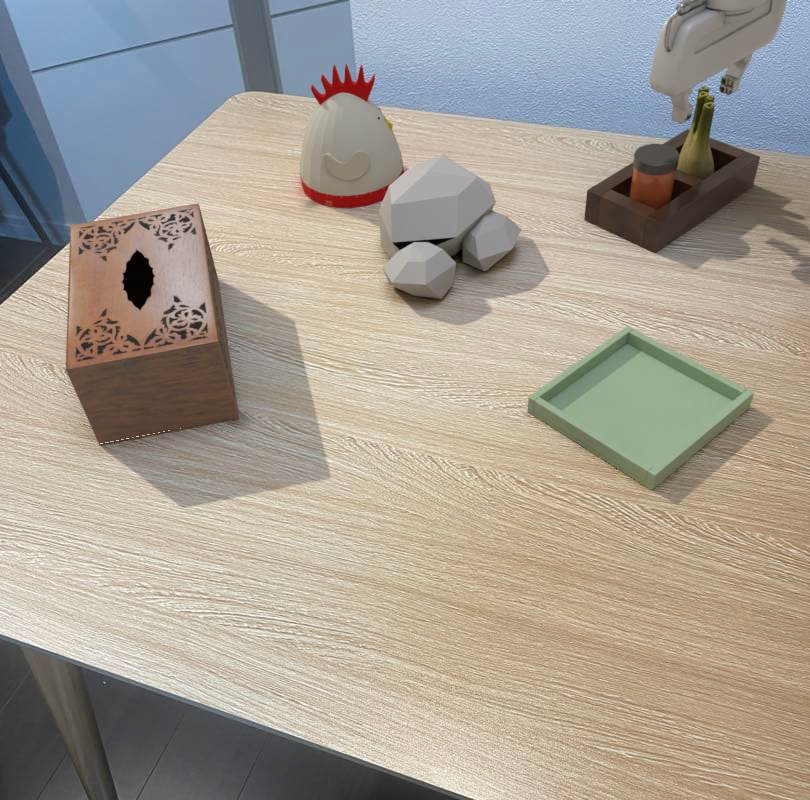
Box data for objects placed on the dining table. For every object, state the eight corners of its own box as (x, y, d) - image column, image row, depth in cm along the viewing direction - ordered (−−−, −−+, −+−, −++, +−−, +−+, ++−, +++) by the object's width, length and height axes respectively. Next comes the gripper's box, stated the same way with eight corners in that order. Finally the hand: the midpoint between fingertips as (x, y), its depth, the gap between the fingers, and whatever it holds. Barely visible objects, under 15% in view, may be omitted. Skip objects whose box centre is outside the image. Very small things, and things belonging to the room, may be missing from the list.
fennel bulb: (680, 174, 120) (697, 80, 111) (717, 181, 118) (737, 87, 109) (664, 195, 117) (680, 101, 108) (702, 204, 115) (721, 108, 106)
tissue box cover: (239, 418, 95) (217, 341, 87) (99, 445, 94) (65, 369, 86) (218, 278, 111) (198, 203, 104) (99, 300, 110) (70, 225, 102)
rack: (753, 186, 117) (760, 156, 114) (655, 253, 109) (660, 223, 106) (682, 158, 122) (687, 128, 119) (583, 219, 114) (586, 189, 111)
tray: (749, 407, 91) (754, 392, 90) (651, 490, 85) (655, 475, 83) (625, 340, 99) (627, 325, 97) (527, 411, 93) (528, 396, 91)
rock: (543, 243, 112) (547, 168, 104) (434, 323, 103) (430, 248, 96) (432, 196, 120) (429, 123, 113) (323, 266, 111) (311, 193, 104)
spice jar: (677, 216, 114) (688, 153, 107) (650, 234, 111) (661, 170, 105) (643, 201, 116) (652, 138, 110) (617, 218, 114) (625, 155, 108)
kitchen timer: (402, 205, 119) (394, 88, 108) (298, 210, 120) (278, 95, 108) (404, 151, 128) (396, 38, 117) (306, 156, 129) (289, 44, 117)
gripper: (696, 16, 93) (672, 147, 104) (808, -44, 101) (776, 84, 112) (646, 0, 96) (628, 129, 107) (759, -56, 104) (732, 69, 115)
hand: (704, 105), depth 109 cm, fingers open, 8 cm apart
